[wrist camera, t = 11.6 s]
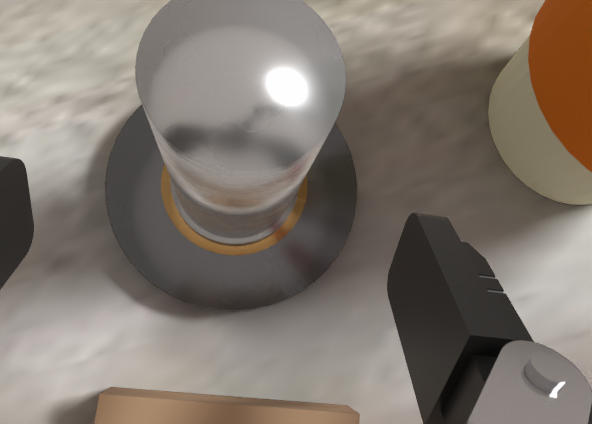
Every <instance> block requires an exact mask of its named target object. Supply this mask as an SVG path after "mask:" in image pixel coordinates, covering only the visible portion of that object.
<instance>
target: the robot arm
mask: <svg viewBox="0 0 592 424" xmlns="http://www.w3.org/2000/svg"><path fill="white" fill-rule="evenodd" d="M33 232H34V224H33V216H32V209H31V201H30V194H29V187H28V180H27V172H26V168H25V165H24V163H23V162H22V161H21V160H20V159H16V158H9V157H1V156H0V290H1V288H2V287H3V285H4V284H5V283H6V281H7V280H8V279H9V277H10V276H11V275H12V273H13V272H14V271H15V269H16V268H17V267H18V265H19V264H20V263H21V261H22V260H23V258H24V257H25V256H26V254H27V253H28V251H29V249H30V246H31V243H32V239H33ZM387 291H388V297H389V301H390V305H391V308H392V312H393V316H394V319H395V323H396V326H397V330H398V334H399V337H400V341H401V344H402V348H403V352H404V355H405V359H406V362H407V366H408V370H409V373H410V377H411V381H412V384H413V388H414V391H415V395H416V399H417V402H418V406H419V409H420V413H421V417H422V420H423V424H592V390H591V388H590V385H589V383H588V381H587V380H586V378H585V376H584V375H583V374H582V373H581V371H580V370H579V369H578V368H577V367H576V366H575V365H574V364H573V363H572V362H570V361H569V360H568V359H567V358H565V357H564V356H563V355H561V354H560V353H558V352H556V351H555V350H553V349H551V348H549V347H546V346H544V345H541V344H539V343H535V342H534V341H533V340H532V338H531V336H530V334H529V333H528V331H527V329H526V328H525V326H524V324H523V322H522V321H521V319H520V317H519V316H518V314H517V312H516V310H515V309H514V307H513V305H512V304H511V302H510V300H509V298H508V297H507V295H506V294H503V291H504V290H503V288H502V287H501V285H500V283H499V281H498V280H497V279H495V275H494V273H493V271H492V269H491V268H490V266H489V264H488V263H487V261H486V259H485V258H484V257H483V256H482V255H481V254H479V253H478V252H477V251H476V250H475V249H474V248H473V247H472V246H471V245H469V244H468V243H465V242H461V241H460V239H459V237H458V236H457V234H456V232H455V230H454V228H453V226H452V225H451V223H450V221H449V219H447V218H446V217H439V216H431V215H424V214H417V213H412V214H411V215H410V216H409V217H408V219H407V221H406V223H405V226H404V229H403V232H402V235H401V238H400V241H399V243H398V246H397V249H396V252H395V255H394V258H393V261H392V264H391V267H390V270H389V274H388V282H387Z"/></svg>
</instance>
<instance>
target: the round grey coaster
mask: <svg viewBox="0 0 592 424" xmlns="http://www.w3.org/2000/svg"><path fill="white" fill-rule="evenodd" d="M170 179H171V178H170V176H169V173H168V171H167V168H166V165H165V163H164V160H163V158H162V155H161V152H160V150H159V147H158V145H157V142H156V139H155V137H154V134H153V131H152V129H151V126H150V124H149V121H148V118H147V116H146V113H145V111H144V108H143V105H141V106H140V107H139V108H138V109H137V110H136V111H135V112H134V114H133V115H132V116H131V117H130V119H129V120H128V121H127V122H126V124H125V125H124V127H123V129H122V130H121V132H120V134H119V135H118V137H117V140H116V142H115V144H114V147H113V149H112V152H111V155H110V159H109V163H108V167H107V174H106V182H105V187H106V204H107V210H108V216H109V219H110V222H111V225H112V229H113V232H114V234H115V236H116V238H117V240H118V242H119V244H120V246H121V248H122V250H123V251H124V253H125V254H126V256H127V257H128V259H129V260H130V261H131V263H132V264H133V265H134V266H135V267H136V268H137V269H138V270H139V272H140V273H141V274H142V275H143V276H145V277H146V278H147V279H148V280H149V281H151V282H152V283H153V284H154V285H155V286H157V287H158V288H160V289H162V290H163V291H165V292H166V293H168V294H169V295H172V296H174V297H176V298H178V299H180V300H182V301H184V302H187V303H189V304H193V305H196V306H199V307H202V308H207V309H213V310H219V311H242V310H252V309H257V308H261V307H265V306H269V305H272V304H274V303H277V302H280V301H282V300H285V299H287V298H289V297H291V296H293V295H295V294H296V293H298V292H300V291H302V290H303V289H305V288H306V287H307V286H309V285H310V284H311V283H313V282H314V281H315V280H316V279H317V278H318V277H319V276H320V275H322V274H323V273H324V272H325V271H326V270H327V268H328V267H329V266H330V265H331V263H332V262H333V261H334V260H335V258H336V257H337V255H338V254H339V252H340V250H341V249H342V247H343V245H344V243H345V241H346V239H347V236H348V234H349V232H350V229H351V226H352V222H353V218H354V215H355V208H356V200H357V183H356V175H355V168H354V165H353V161H352V157H351V154H350V151H349V149H348V146H347V144H346V142H345V140H344V138H343V136H342V134H341V132H340V131H339V129H338V127H337V126H336V125H335V123H334V125H333V127H332V129H331V131H330V132H329V134H328V136H327V138H326V140H325V142H324V143H323V145H322V147H321V149H320V151H319V152H318V154H317V156H316V158H315V160H314V162H313V163H312V165H311V167H310V169H309V171H308V173H307V174H306V176H305V178H304V180H303V182H302V184H301V185H300V187H299V190H298V196H297V200H296V203H295V205H294V208H293V210H292V212H291V213H290V215H289V217H288V218H287V220H286V221H285V223H284V224H283V225H282V226H281V227H280V228H279V229H278V230H277V231H276V232H275V233H274V234H272V235H271V236H269V237H268V238H266V239H264V240H262V241H260V242H257V243H254V244H251V245H246V246H225V245H219V244H216V243H213V242H210V241H208V240H206V239H204V238H202V237H201V236H199V235H198V234H196V233H195V232H194V231H193V230H192V229H191V228H190V227H189V226H188V225H187V224H186V223H185V222H184V220H183V219H182V217H181V216H180V214H179V212H178V210H177V208H176V205H175V203H174V200H173V197H172V192H171V182H170Z"/></svg>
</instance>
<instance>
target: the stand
mask: <svg viewBox="0 0 592 424" xmlns="http://www.w3.org/2000/svg"><path fill="white" fill-rule="evenodd" d="M359 416H360V414H359V413H357V412H356V411H354V410H353V409H352V408H350V407H349V406H346V405H334V404H321V403H308V402H295V401H283V400H270V399H257V398H244V397H232V396H219V395H206V394H193V393H181V392H168V391H155V390H142V389H130V388H117V387H111V388H109V389H107V390H106V391H104V392H102V393H100V394H99V399H98V404H97V410H96V416H95V421H94V424H359Z"/></svg>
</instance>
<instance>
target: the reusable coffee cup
mask: <svg viewBox="0 0 592 424" xmlns="http://www.w3.org/2000/svg"><path fill="white" fill-rule="evenodd" d="M488 117H489V126H490V131H491V134H492V137H493V141H494V144H495V146H496V148H497V150H498V152H499V154H500V156H501V158H502V160H503V161H504V162H505V164H506V165H507V166H508V167H509V169H510V170H511V171H512V173H513V174H514V175H515V176H516V177H517V178H518V179H520V180H521V181H522V182H523V183H524V184H525V185H526V186H528V187H529V188H531V189H532V190H534V191H535V192H537V193H538V194H540V195H542V196H544V197H547V198H549V199H551V200H554V201H557V202H562V203H566V204H572V205H587V204H592V0H545V2H544V4H543V5H542V7H541V9H540V10H539V12H538V14H537V16H536V17H535V21H534V24H533V27H532V31H531V34H530V36H529V37H528V38H527V40H526V41H525V42H524V43H523V45H522V46H521V47H520V48H519V50H518V51H517V52H516V53H515V55H514V56H513V57H512V59H511V60H510V61H509V62H508V64H507V65H506V66H505V67H504V69H503V70H502V71H501V73H500V74H499V76H498V78H497V79H496V81H495V83H494V85H493V88H492V91H491V94H490V98H489V108H488Z"/></svg>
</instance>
